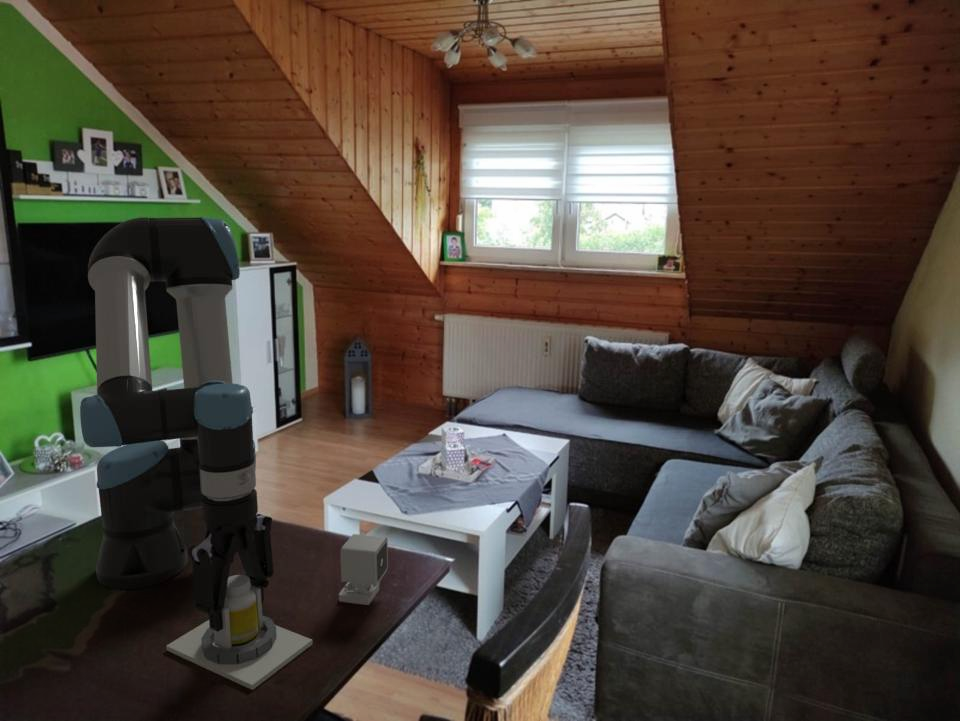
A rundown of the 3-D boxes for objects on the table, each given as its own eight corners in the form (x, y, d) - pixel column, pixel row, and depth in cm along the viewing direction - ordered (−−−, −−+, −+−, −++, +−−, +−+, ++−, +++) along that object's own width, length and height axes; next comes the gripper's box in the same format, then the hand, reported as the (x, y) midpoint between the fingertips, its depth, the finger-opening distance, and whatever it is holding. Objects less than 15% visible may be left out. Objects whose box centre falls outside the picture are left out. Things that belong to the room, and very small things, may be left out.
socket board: (166, 650, 104) (165, 636, 104) (229, 611, 115) (228, 598, 114) (252, 690, 96) (251, 674, 95) (312, 644, 106) (311, 630, 106)
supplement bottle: (266, 635, 106) (262, 576, 104) (240, 655, 101) (236, 594, 99) (239, 626, 108) (235, 569, 106) (213, 645, 104) (208, 585, 102)
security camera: (376, 607, 116) (375, 552, 114) (337, 602, 118) (335, 548, 115) (388, 588, 122) (387, 535, 120) (351, 583, 124) (349, 531, 122)
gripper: (193, 521, 90) (206, 678, 95) (294, 476, 106) (301, 612, 111) (155, 509, 94) (170, 661, 99) (258, 467, 110) (266, 600, 114)
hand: (239, 635), depth 105 cm, fingers closed on supplement bottle, 5 cm apart
